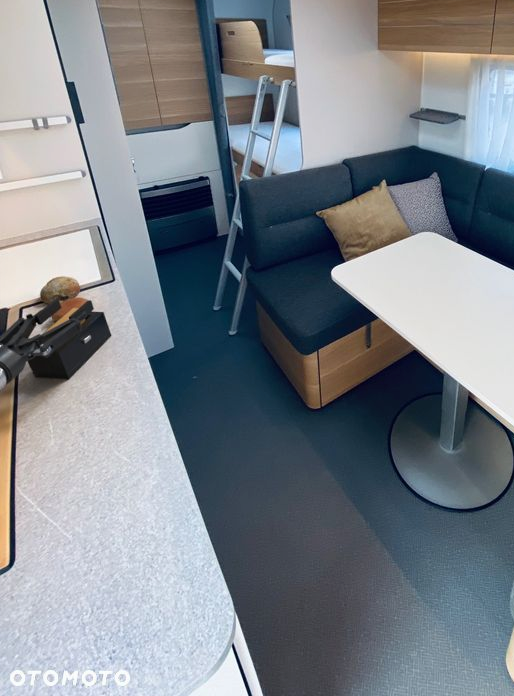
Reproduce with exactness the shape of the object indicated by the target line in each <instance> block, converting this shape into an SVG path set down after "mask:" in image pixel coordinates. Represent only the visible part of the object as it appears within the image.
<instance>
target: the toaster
mask: <svg viewBox="0 0 514 696" xmlns="http://www.w3.org/2000/svg"><path fill="white" fill-rule="evenodd" d="M81 325H82V328H83V329H82V330H81V331H80V332H79V333H77V334H76V335H75V336H73V337H72V338H70V339H69V340H68V341H66V342H65V343H64V344H62V345H61V346H60V347H58V348H57V349H56V350H54V351H53V352H52V354H51V355H50V356H49V357H48V358H43V357H42V355H41V356H35V357H34V358H32V359H31V360H29V361H27V364H28V367H29V368H30V370H31V373H32V375H33V376H34V378H38V379H39V378H40V379H57V380H70V379H72V378H73V376H74V375H75V374H76V373H77V372H79V370H80V369H81V368H82V367H83V366H84V365H85V364H86V363H87V362H88V361H89V360H90V359H91V358H92V357H93V356H94V355H95V354H96V353H97V352H98V350H99V349H100V348H101V347H102V346H103V345H104V344H105V343H106V342H107V341H108V340H109V339H110V338H111V337H112V333H111V330H110V326H109V324H108V320H107V317H106V315H105V312H104V311H93V310H92V311H91V312H90V313H89V314H88V315H87V317H86V318H85V321H84V322H83V323H82V324H81ZM37 342H38V345H39V346H40V344H39V341H38V340H37Z"/></svg>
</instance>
